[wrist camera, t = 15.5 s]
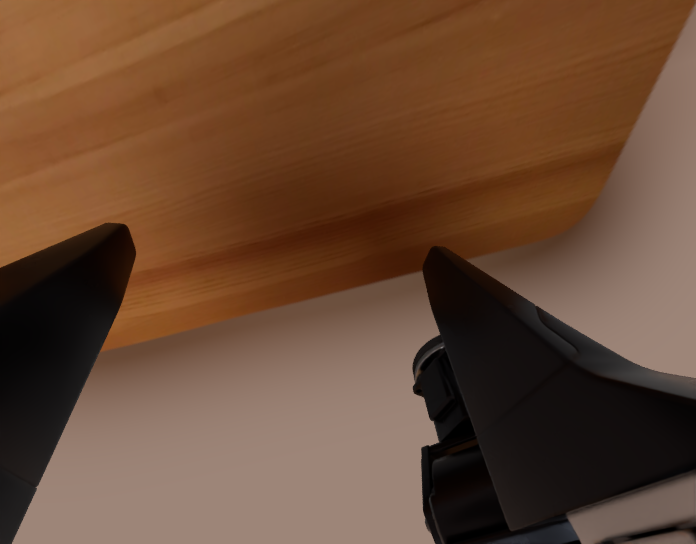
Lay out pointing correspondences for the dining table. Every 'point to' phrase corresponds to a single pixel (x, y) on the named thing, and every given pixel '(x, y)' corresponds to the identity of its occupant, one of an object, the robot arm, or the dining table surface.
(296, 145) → the dining table surface
